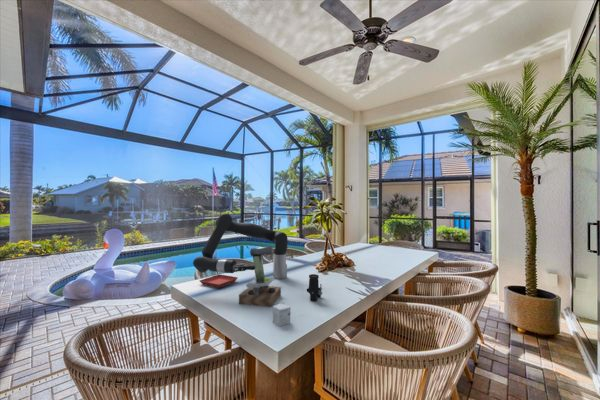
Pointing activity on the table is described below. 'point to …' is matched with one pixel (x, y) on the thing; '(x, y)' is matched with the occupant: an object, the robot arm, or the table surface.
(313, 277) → the scope
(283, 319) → the skincare box
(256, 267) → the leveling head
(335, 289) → the table surface
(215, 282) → the plant saucer
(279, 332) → the table surface
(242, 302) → the wooden block with holes
